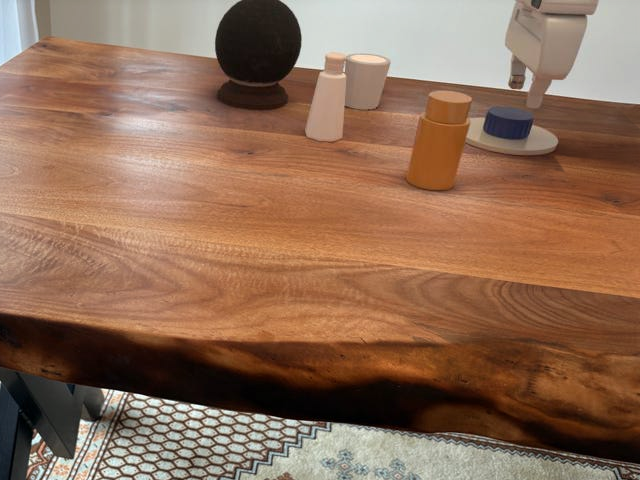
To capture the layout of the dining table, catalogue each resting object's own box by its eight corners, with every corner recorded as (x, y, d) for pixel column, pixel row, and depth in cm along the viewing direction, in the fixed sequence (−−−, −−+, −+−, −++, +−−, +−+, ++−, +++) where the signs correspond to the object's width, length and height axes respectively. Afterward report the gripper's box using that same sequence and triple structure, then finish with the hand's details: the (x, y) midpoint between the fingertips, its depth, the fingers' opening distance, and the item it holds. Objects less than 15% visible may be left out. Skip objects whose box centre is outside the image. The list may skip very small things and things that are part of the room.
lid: (485, 136, 109) (490, 117, 107) (480, 123, 114) (485, 104, 112) (531, 141, 108) (538, 122, 106) (524, 128, 113) (530, 108, 111)
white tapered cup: (355, 112, 118) (363, 65, 114) (329, 99, 123) (336, 54, 119) (391, 108, 121) (400, 62, 117) (364, 96, 126) (372, 51, 122)
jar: (449, 175, 98) (472, 91, 92) (456, 192, 93) (480, 105, 87) (403, 170, 99) (422, 87, 93) (408, 188, 94) (428, 101, 88)
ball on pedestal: (287, 88, 128) (299, -11, 119) (300, 112, 117) (314, 6, 108) (208, 85, 127) (215, -14, 119) (213, 110, 117) (221, 3, 108)
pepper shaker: (349, 140, 108) (364, 58, 101) (315, 143, 106) (328, 60, 100) (330, 127, 112) (343, 48, 105) (297, 131, 110) (308, 50, 104)
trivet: (543, 127, 116) (544, 121, 115) (568, 159, 104) (570, 154, 104) (447, 119, 117) (448, 113, 117) (462, 150, 106) (463, 144, 105)
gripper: (509, -25, 108) (484, 77, 116) (548, 0, 91) (516, 117, 99) (556, -24, 107) (527, 79, 115) (604, 2, 90) (567, 120, 98)
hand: (522, 97), depth 107 cm, fingers open, 8 cm apart
